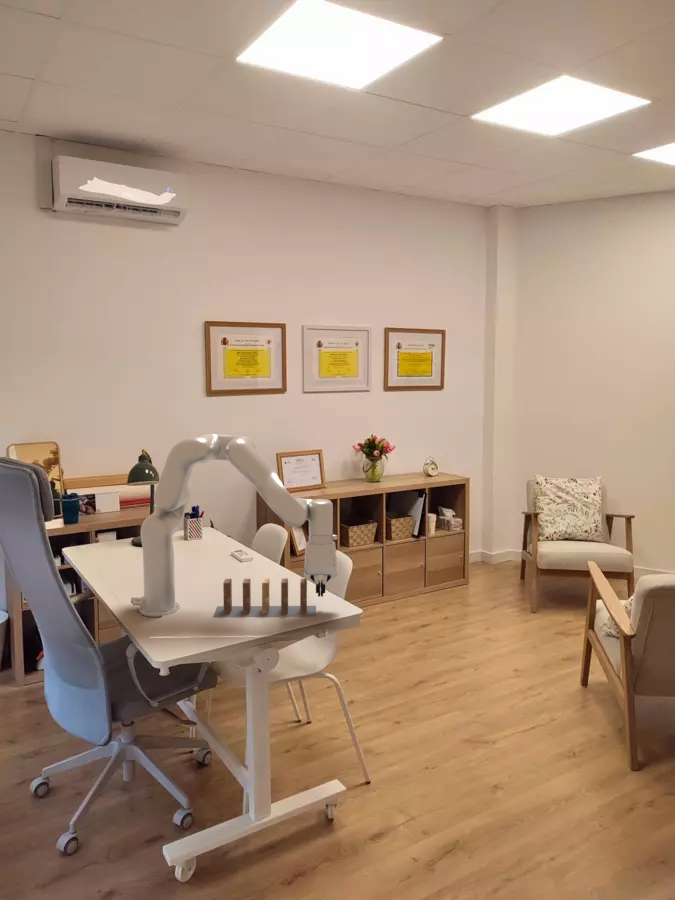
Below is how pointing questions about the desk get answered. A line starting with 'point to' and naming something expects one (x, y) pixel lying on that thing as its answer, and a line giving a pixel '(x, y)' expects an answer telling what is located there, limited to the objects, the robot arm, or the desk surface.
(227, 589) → the domino
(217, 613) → the mat
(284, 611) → the domino
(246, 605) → the domino
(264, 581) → the domino
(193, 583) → the desk surface
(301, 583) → the domino
